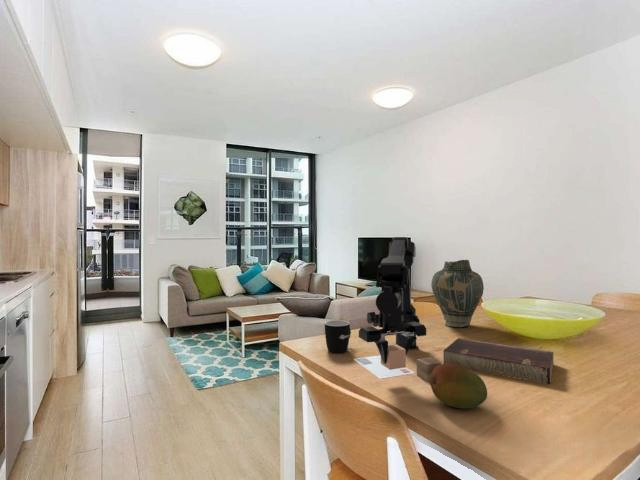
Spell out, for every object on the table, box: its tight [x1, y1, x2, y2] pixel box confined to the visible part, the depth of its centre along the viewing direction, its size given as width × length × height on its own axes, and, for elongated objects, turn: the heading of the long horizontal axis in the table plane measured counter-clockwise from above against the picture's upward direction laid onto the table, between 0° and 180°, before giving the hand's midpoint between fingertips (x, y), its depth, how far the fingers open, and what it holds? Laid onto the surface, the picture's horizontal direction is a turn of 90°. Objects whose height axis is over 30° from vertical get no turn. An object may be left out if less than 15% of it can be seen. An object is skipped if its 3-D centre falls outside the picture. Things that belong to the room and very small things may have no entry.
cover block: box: [381, 343, 407, 370], centre depth 104 cm, size 5×5×5 cm
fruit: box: [429, 363, 488, 409], centre depth 91 cm, size 12×12×10 cm
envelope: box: [353, 354, 415, 380], centre depth 117 cm, size 12×18×1 cm, turn 20°
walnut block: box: [416, 356, 443, 382], centre depth 108 cm, size 5×5×5 cm
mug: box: [324, 319, 352, 354], centre depth 134 cm, size 12×9×10 cm
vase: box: [430, 259, 485, 328], centre depth 168 cm, size 22×22×30 cm
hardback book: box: [443, 337, 554, 385], centre depth 118 cm, size 29×19×5 cm, turn 55°
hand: (392, 362), depth 104 cm, fingers closed on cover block, 5 cm apart
